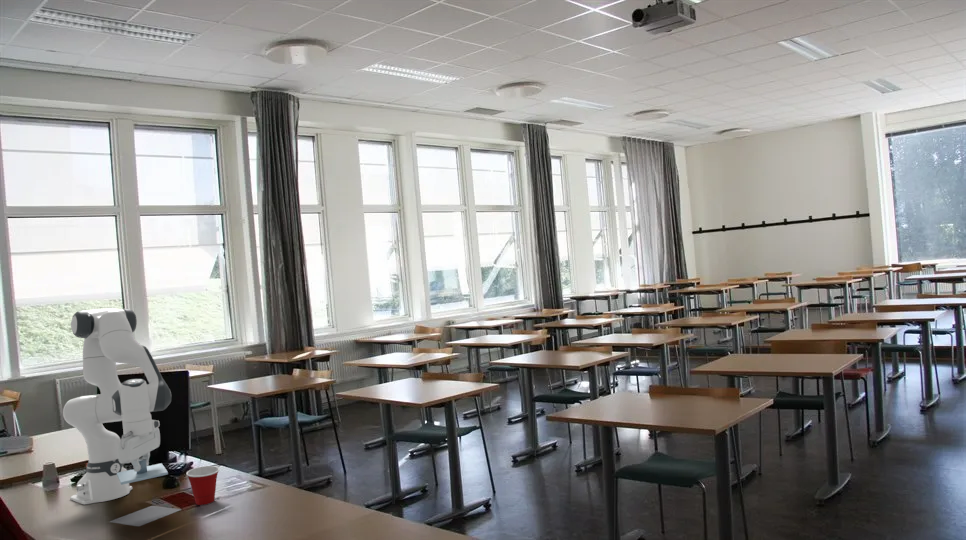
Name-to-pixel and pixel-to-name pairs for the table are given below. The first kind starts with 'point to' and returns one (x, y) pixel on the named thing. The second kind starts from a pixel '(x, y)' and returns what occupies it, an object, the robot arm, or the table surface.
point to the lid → (142, 473)
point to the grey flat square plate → (145, 515)
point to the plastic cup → (203, 483)
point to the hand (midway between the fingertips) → (141, 468)
